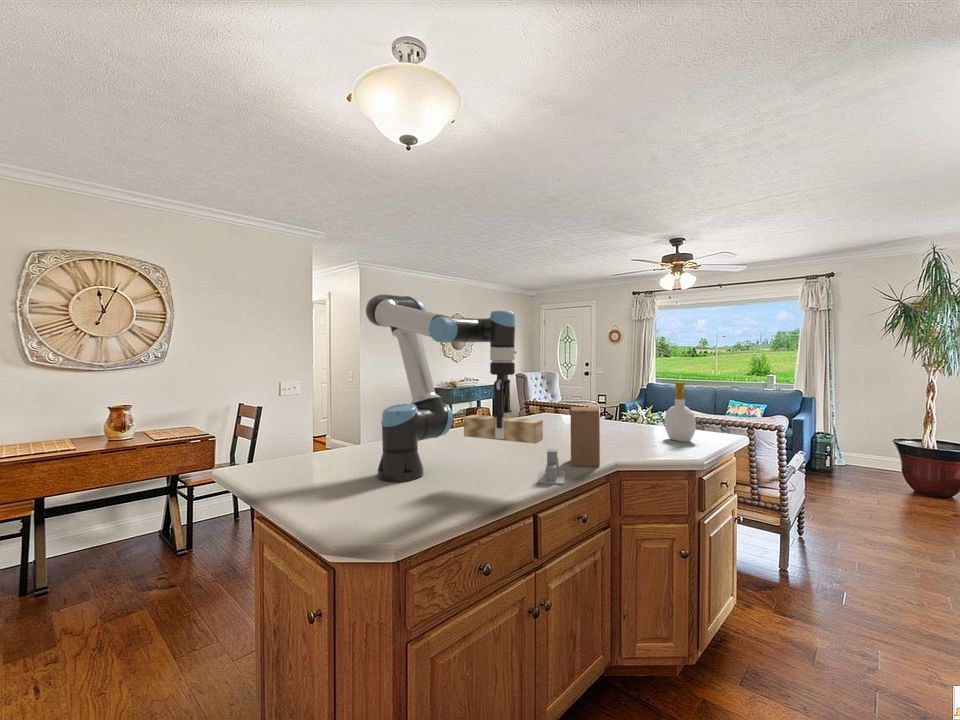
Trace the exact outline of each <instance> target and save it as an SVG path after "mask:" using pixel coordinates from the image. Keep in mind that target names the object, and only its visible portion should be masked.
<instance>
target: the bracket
mask: <svg viewBox="0 0 960 720" xmlns="http://www.w3.org/2000/svg"><path fill="white" fill-rule="evenodd" d="M566 476H567V471H566V470H559V458H558V448H547V451H546V465H545V469H542V470H541V472H540V474H539V477H538V480H537V484H542V485H556V486H557V485H558V486H559V485H560V486H564V485H565V481H566Z"/></svg>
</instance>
